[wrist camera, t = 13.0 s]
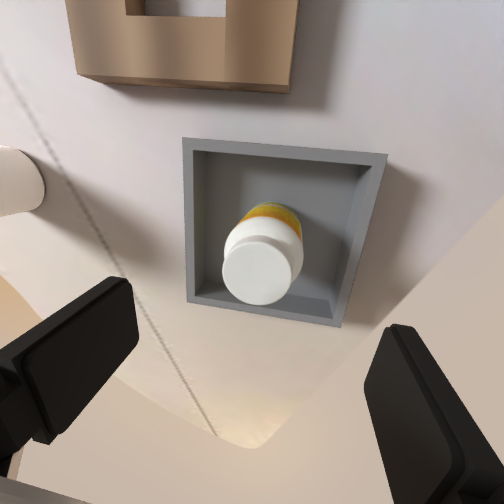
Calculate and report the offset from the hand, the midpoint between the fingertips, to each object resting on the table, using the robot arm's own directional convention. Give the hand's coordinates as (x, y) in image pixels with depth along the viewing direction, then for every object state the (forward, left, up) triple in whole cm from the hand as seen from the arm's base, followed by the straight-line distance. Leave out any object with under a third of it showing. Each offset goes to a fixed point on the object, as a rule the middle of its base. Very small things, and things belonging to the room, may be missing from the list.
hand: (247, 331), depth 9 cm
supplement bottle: (0, 0, -15) cm, 15 cm away
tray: (0, 0, -15) cm, 15 cm away
